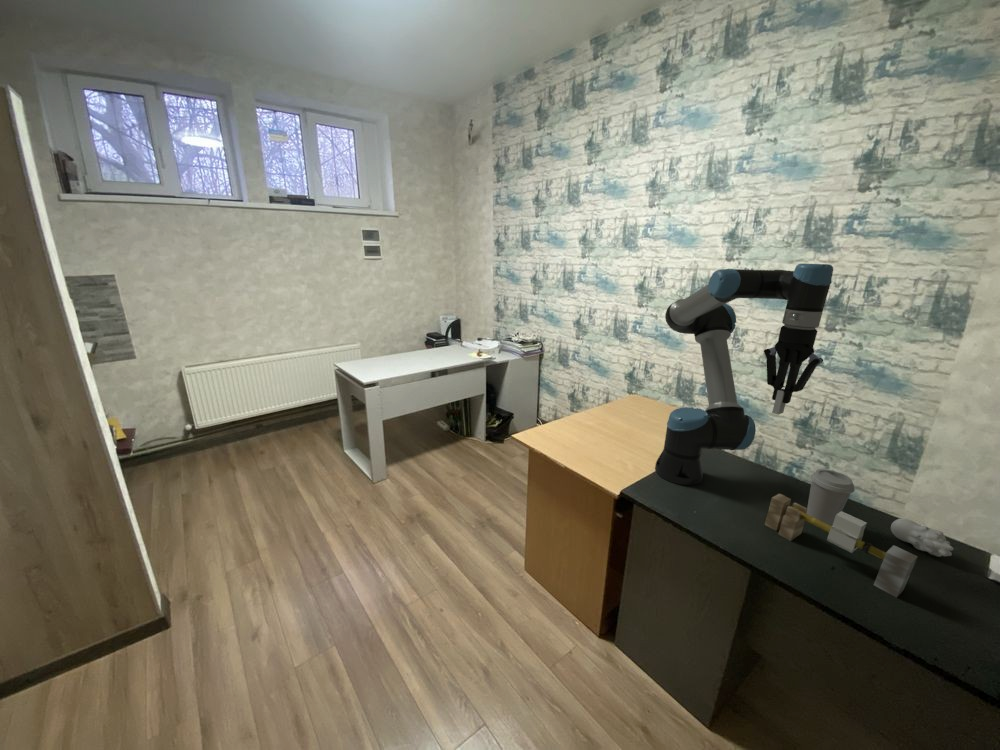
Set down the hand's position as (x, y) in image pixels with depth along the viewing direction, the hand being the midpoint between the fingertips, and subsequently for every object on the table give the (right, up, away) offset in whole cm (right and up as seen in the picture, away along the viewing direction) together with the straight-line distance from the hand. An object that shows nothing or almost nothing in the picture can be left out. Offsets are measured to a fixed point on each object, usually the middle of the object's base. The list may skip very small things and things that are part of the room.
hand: (777, 412), depth 105 cm
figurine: (+36, -36, -2) cm, 50 cm away
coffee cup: (+17, -32, +7) cm, 37 cm away
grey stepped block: (+10, -32, -9) cm, 34 cm away
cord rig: (+9, -36, -6) cm, 38 cm away
